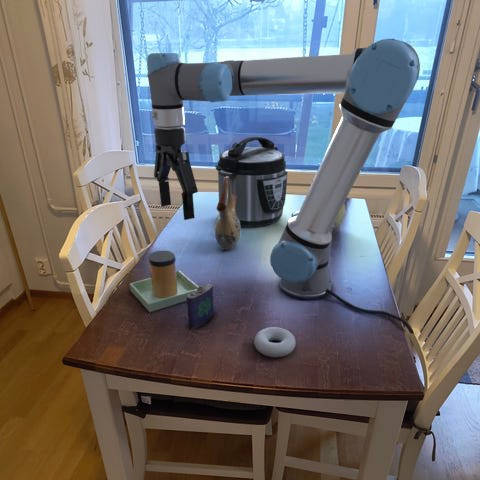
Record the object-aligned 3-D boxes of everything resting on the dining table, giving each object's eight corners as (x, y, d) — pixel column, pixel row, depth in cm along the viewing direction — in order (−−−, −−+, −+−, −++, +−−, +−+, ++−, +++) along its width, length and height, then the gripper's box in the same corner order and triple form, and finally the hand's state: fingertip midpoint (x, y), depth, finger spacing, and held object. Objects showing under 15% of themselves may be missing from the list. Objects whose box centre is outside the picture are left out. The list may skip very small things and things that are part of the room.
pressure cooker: (224, 233, 164) (222, 146, 146) (209, 210, 187) (206, 132, 169) (296, 226, 170) (303, 142, 153) (274, 204, 193) (277, 129, 176)
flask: (209, 311, 116) (207, 276, 110) (217, 314, 115) (216, 279, 109) (186, 326, 110) (183, 290, 104) (194, 330, 108) (192, 294, 103)
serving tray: (201, 296, 123) (201, 288, 122) (149, 312, 116) (148, 304, 114) (179, 277, 133) (179, 270, 132) (130, 290, 126) (129, 283, 124)
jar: (182, 293, 123) (179, 257, 117) (158, 301, 120) (154, 264, 113) (171, 283, 128) (168, 248, 122) (148, 290, 125) (143, 254, 119)
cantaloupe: (326, 240, 158) (330, 200, 150) (297, 229, 168) (300, 191, 160) (351, 231, 166) (357, 192, 158) (322, 220, 176) (326, 184, 167)
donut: (298, 360, 98) (292, 334, 107) (299, 348, 97) (293, 323, 105) (255, 361, 98) (252, 335, 106) (255, 349, 96) (252, 324, 104)
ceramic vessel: (234, 258, 145) (233, 184, 131) (209, 255, 147) (206, 182, 133) (245, 240, 158) (246, 171, 144) (222, 237, 160) (220, 169, 146)
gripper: (135, 122, 111) (145, 202, 122) (179, 135, 93) (186, 228, 105) (161, 119, 114) (169, 198, 126) (208, 132, 97) (212, 221, 108)
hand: (177, 211), depth 115 cm, fingers open, 13 cm apart
